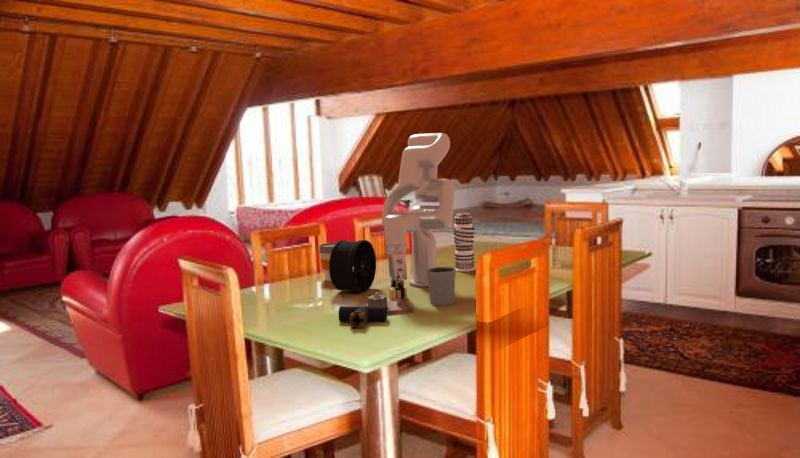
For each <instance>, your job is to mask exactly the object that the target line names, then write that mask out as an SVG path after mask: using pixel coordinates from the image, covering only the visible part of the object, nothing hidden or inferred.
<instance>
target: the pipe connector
mask: <svg viewBox="0 0 800 458" xmlns="http://www.w3.org/2000/svg"><path fill="white" fill-rule="evenodd" d="M387 320H388V315H387V307H386V306H365V305H364V306H362V305H360V306H356V305H354V306H353V305H351V306H348V305H345V306H342V305H341V306H339V308H338V321H339V322H343V323H345V322H349V324H350V325H349V326H350V328H353V329H354V328H361V329H362V328H364V327H365V326H366V323H371V322H372V323H378V322H379V323H385V322H386V321H387Z"/></svg>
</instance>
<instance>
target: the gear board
mask: <svg viewBox="0 0 800 458" xmlns="http://www.w3.org/2000/svg"><path fill="white" fill-rule="evenodd" d="M364 306H386V307H387V316H388V315H396V314H408V313H414V308H413V307H412V306H411V305H410V304H409V303H408V302H407V301H405V299H403V300H402V299H401V291H400V290H398V291H397V300H390V301H389V300H388V296H386V294H382V295H381V294H380V292H378V291H377V292H375V293H374V294H372V295H370V296H367V303H364Z"/></svg>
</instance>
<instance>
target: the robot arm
mask: <svg viewBox="0 0 800 458" xmlns="http://www.w3.org/2000/svg"><path fill="white" fill-rule="evenodd" d="M450 148H451V141H450V137H449V135H448V134H446V133H444V132H431V133H417V134H413V135H412V134H411V135H410V136H409V137H408V139H407V147H406V148H404V149H403V151H402V155H401V159H400V160H401V161H400V167H399V176H398V182H397V185H396V186H395V187H394V188H393V189H392V190H391V191H390V193H389V195H387V197H386V199H385V201H384V203H383V206H382V207H383V208H382V215H381V216H382V217H381V225H382V228H383V230H384V239H385V254H387V255H388V260H387V262H388V275H389V277H390V288H392V287H396V299H397V291H398V290H400V291H401V300H402V299H403V300H405V299H406V298H405V291H404V287H405V281H406V280H408V272H407V268H408V267H407V260H406V253H407V238H406V237H407V236H406V233H411V248H412V273H413V274H412V275H413V278H412V279H410V281H409V284H410V286H413V287H429V282H428V275H427V270H428V269H430V268H435V267H438V266H437V265H438V264H437V242H436V241H437V240H436V237H435V235H434V234H433V232H432V231H433V230H438V231H441V230H445V231H446V230H448V229H450V227H451V226H452V223H453V213H454V202H455V201H454V200H455V187H454V184H453V182H452V180H451V179H448V178H438V171H439V170H438V166H439V165H440V163H441V162H442V161H443V159H444V158H445V157H446V155H447V154H448V152H449V150H450ZM413 193H414V197H415V198H414V199H415V200H416V201H418V203H419V202H420V203H435V204H436V203H438V205H429V204H428V205H425V204H424V205H423V204H419V205H415V206H413V207H411V208H410V209H409V211H395V209H396V206H397V205H398V203H399V202H400V201H401V200H402V199H404V198H405V197H407V196H409V195H411V194H413Z"/></svg>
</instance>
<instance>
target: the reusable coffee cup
mask: <svg viewBox="0 0 800 458" xmlns="http://www.w3.org/2000/svg"><path fill="white" fill-rule="evenodd" d="M337 242H338V241H337ZM337 242H328V243H321V244H319V248H318V249H319V250H318V252H319V256H320V258H319V260H320V266H321V269H322V270H323V276H324V280H325V281H326V282H332V281H331V278H330V272H329V262H330V256H331V252H332V249H333V247H334V246H335V244H336V243H337Z"/></svg>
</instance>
